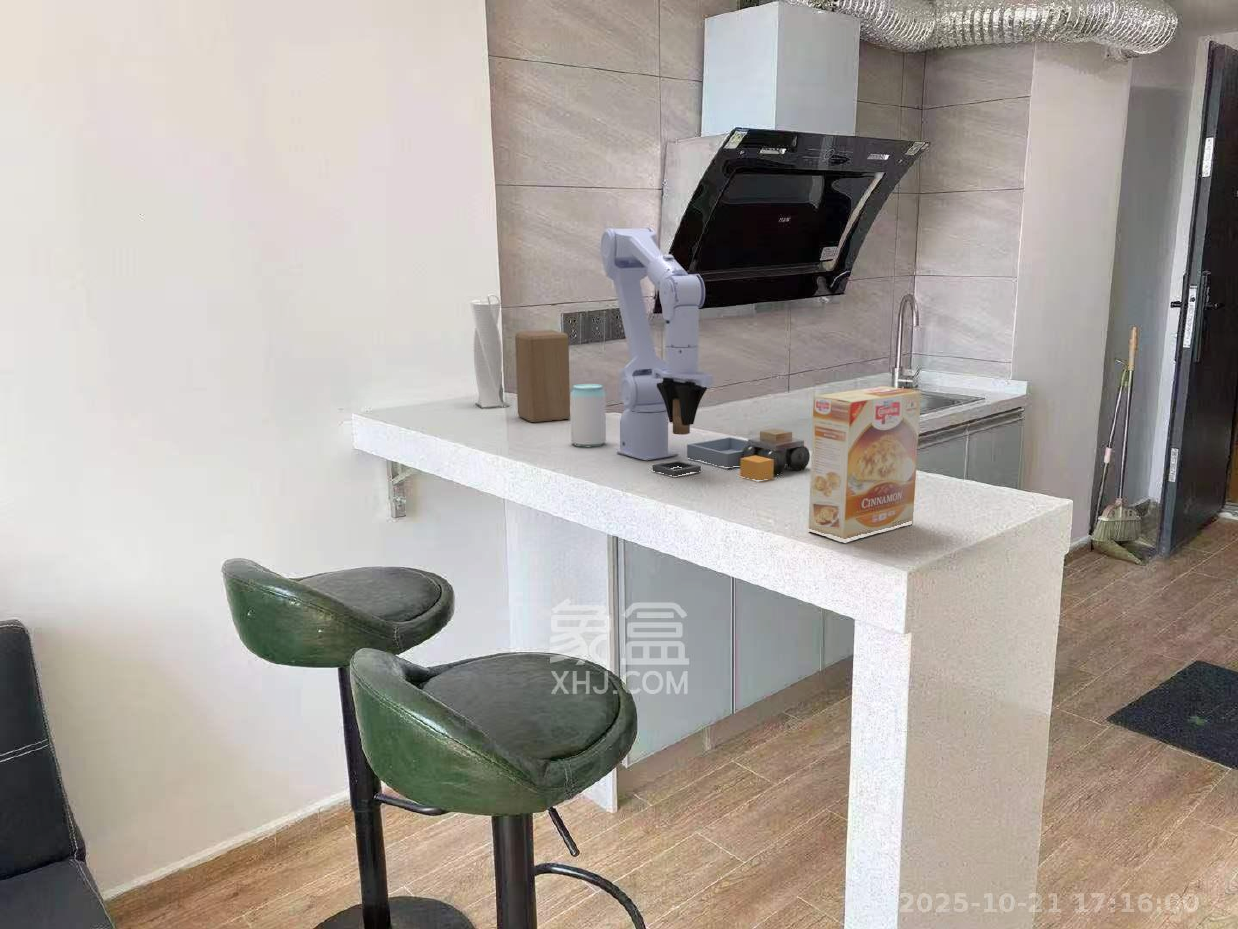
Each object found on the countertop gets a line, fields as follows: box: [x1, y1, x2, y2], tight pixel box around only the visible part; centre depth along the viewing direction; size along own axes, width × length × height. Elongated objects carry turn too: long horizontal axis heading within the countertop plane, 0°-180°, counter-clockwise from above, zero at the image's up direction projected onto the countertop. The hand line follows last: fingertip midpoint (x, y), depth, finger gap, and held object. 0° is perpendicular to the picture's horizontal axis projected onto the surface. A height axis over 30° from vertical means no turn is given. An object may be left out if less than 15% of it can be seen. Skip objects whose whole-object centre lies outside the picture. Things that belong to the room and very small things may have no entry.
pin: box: [672, 398, 691, 436], centre depth 171 cm, size 3×3×6 cm
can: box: [570, 383, 607, 447], centre depth 196 cm, size 7×7×12 cm
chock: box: [739, 455, 774, 480], centre depth 167 cm, size 4×4×4 cm
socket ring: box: [651, 460, 702, 476], centre depth 172 cm, size 6×6×1 cm
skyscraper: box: [470, 293, 511, 409], centre depth 241 cm, size 8×8×28 cm
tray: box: [686, 436, 766, 467], centre depth 181 cm, size 11×11×3 cm
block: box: [514, 329, 571, 423], centre depth 224 cm, size 10×10×20 cm
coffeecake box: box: [807, 385, 922, 539], centre depth 136 cm, size 15×7×20 cm, turn 126°
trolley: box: [741, 428, 811, 476], centre depth 173 cm, size 7×10×7 cm
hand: (681, 423), depth 171 cm, fingers closed on pin, 3 cm apart
